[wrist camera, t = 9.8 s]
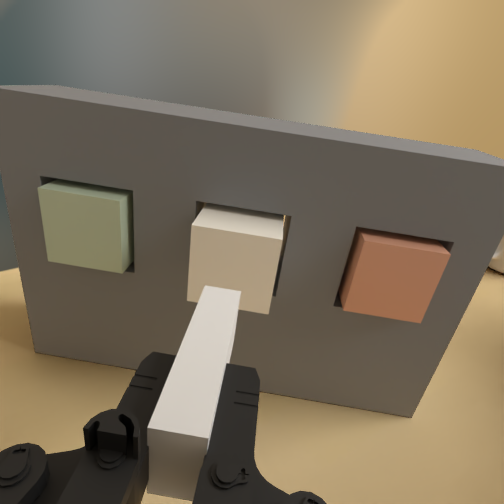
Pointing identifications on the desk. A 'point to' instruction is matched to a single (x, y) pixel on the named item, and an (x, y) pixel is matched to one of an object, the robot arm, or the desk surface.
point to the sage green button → (88, 225)
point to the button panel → (255, 198)
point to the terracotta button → (391, 274)
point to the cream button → (235, 254)
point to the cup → (498, 258)
